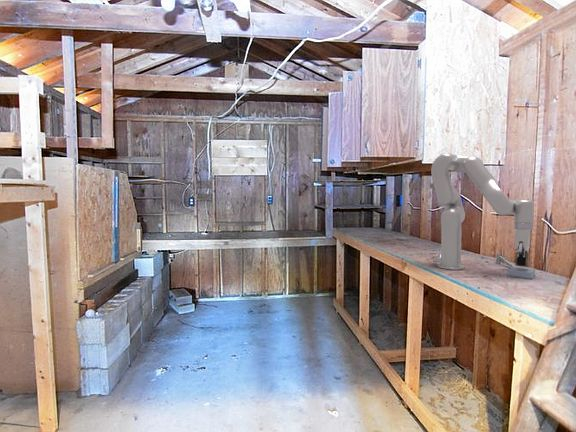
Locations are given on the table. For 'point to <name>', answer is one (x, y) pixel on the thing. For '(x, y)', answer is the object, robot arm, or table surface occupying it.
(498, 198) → the robot arm
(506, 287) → the table surface
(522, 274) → the base block
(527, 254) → the walnut block
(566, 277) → the table surface
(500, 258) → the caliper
